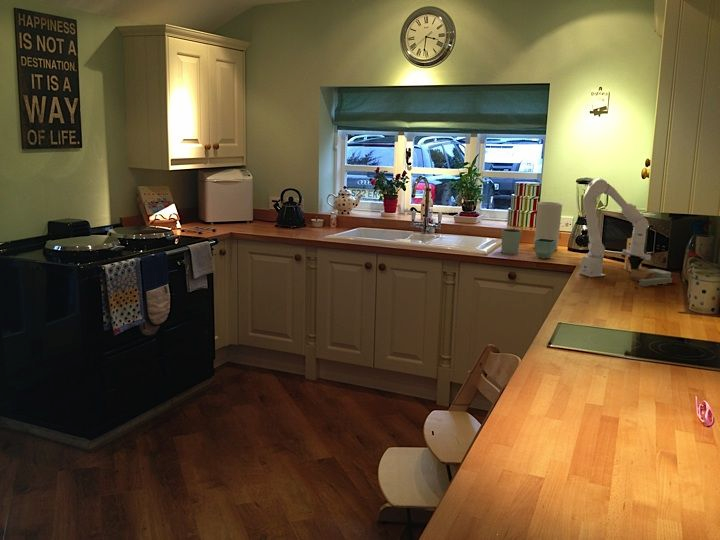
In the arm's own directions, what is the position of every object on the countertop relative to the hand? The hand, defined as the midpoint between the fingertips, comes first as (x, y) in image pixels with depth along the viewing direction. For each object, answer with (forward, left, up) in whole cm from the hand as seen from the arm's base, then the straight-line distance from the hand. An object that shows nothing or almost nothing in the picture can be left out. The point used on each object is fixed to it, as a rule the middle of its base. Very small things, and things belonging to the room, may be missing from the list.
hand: (633, 272), depth 319 cm
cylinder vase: (+7, +67, -3) cm, 67 cm away
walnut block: (0, -5, -3) cm, 6 cm away
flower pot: (-10, +49, -3) cm, 50 cm away
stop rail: (0, -12, -3) cm, 13 cm away
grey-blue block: (+8, -7, -3) cm, 11 cm away
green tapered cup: (-20, +64, -3) cm, 67 cm away
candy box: (+11, +11, -3) cm, 16 cm away
